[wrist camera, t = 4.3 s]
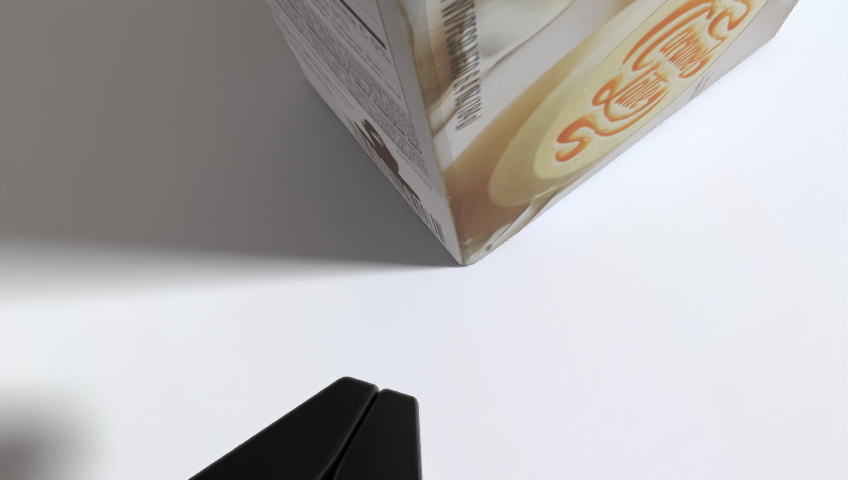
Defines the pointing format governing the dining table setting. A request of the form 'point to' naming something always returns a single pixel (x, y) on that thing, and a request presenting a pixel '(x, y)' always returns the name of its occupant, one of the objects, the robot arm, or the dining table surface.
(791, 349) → the dining table surface
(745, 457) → the dining table surface
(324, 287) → the dining table surface
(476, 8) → the coffee box
